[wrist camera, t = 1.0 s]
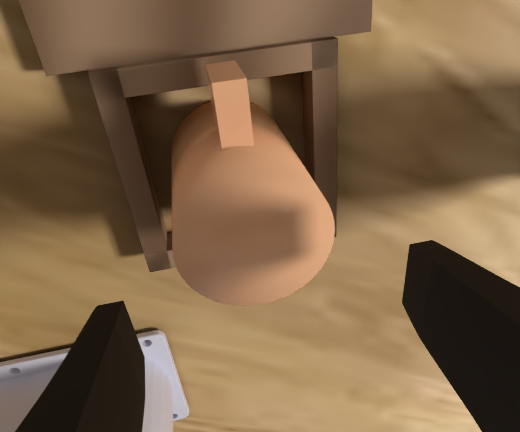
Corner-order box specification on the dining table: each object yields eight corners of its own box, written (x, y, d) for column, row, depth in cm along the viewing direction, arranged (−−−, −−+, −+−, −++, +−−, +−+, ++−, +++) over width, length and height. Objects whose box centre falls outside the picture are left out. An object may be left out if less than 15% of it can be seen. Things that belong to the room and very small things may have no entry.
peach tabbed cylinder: (183, 211, 19) (189, 318, 14) (148, 56, 16) (135, 113, 10) (286, 192, 20) (334, 289, 14) (275, 39, 16) (335, 83, 10)
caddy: (120, 258, 20) (117, 278, 19) (-153, -509, 9) (-207, -587, 8) (354, 215, 21) (365, 231, 20) (379, -505, 10) (409, -572, 9)
